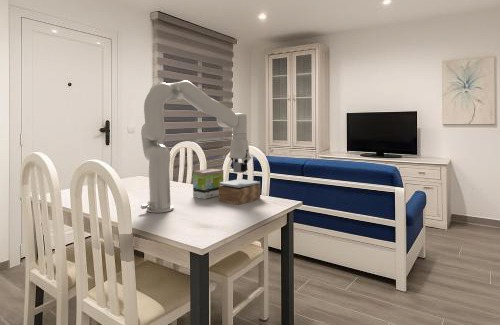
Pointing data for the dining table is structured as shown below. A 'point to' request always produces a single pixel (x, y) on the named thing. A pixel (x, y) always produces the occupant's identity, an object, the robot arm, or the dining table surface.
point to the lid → (239, 183)
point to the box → (239, 194)
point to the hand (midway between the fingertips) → (240, 170)
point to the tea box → (207, 183)
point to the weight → (238, 167)
